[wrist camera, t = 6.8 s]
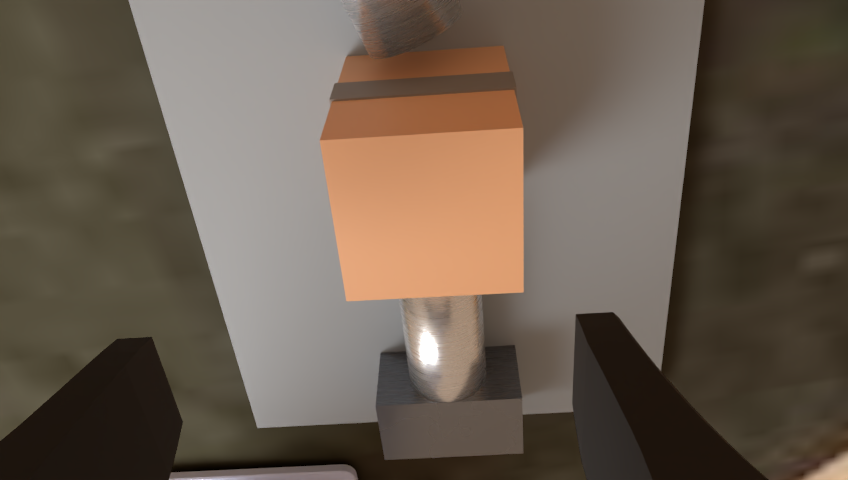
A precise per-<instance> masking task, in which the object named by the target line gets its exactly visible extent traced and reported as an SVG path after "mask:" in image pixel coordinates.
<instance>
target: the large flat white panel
mask: <svg viewBox="0 0 848 480" xmlns="http://www.w3.org/2000/svg"><path fill="white" fill-rule="evenodd" d="M458 1H459V3H460V5H461V8H462V10H463V11H462V14H461V16H460V18H459V19H458V20H457V21H456V22H455V23H454V24H453V25H452V26H450V27H449V28H448V29H447V30H445V31H444V32H443V33H441V34H440V35H438V36H436V37H435V38H433V39H432V40H430V41H428V42H426V43H424V44H422V45H421V46H418V47H416V48H414V49H412V50H410V51H407V52H418V51H433V50H447V49H462V48H476V47H491V46H504V49H505V53H506V58H507V62H508V66H509V70H510V71H513V75H514V79H515V83H516V87H517V103H518V107H519V112H520V116H521V120H522V124H523V208H524V292H522V293H502V294H482V306H483V323H484V341H485V347H489V346H506V345H515V349H516V356H517V364H518V371H519V378H520V386H521V393H522V412H523V414H542V413H561V412H573V406H572V395H573V369H574V344H575V319H576V314H586V313H605V312H613V313H615V314H616V315H617V316H618V317H619V318H620V319H621V321H622V322H623V324H624V325H625V326H626V328H627V329H628V330H629V332H630V333H631V334H632V336H633V337H634V338H635V340H636V341H637V342H638V343H639V345H640V346H641V347H642V349H643V350H644V351H645V352H646V354H647V355H648V356H649V357H650V358H651V360H652V361H653V362H654V363H655V365H656V366H657V367H658V368H659V369H660V371H661V366H662V358H663V349H664V341H665V332H666V324H667V316H668V307H669V299H670V290H671V282H672V273H673V265H674V256H675V248H676V239H677V231H678V222H679V214H680V205H681V197H682V188H683V180H684V171H685V163H686V154H687V146H688V137H689V129H690V120H691V112H692V103H693V95H694V87H695V78H696V70H697V61H698V53H699V44H700V36H701V27H702V19H703V10H704V2H705V0H458ZM129 3H130V7H131V10H132V13H133V17H134V20H135V23H136V26H137V30H138V33H139V36H140V40H141V43H142V46H143V50H144V53H145V56H146V60H147V63H148V66H149V70H150V73H151V76H152V80H153V83H154V86H155V89H156V93H157V96H158V99H159V103H160V106H161V109H162V113H163V116H164V119H165V123H166V126H167V129H168V133H169V136H170V139H171V143H172V146H173V149H174V153H175V156H176V159H177V162H178V166H179V169H180V172H181V176H182V179H183V182H184V186H185V189H186V192H187V196H188V199H189V202H190V206H191V209H192V212H193V216H194V219H195V222H196V225H197V229H198V232H199V235H200V239H201V242H202V245H203V249H204V252H205V255H206V259H207V262H208V265H209V269H210V272H211V275H212V279H213V282H214V285H215V288H216V292H217V295H218V298H219V302H220V305H221V308H222V312H223V315H224V318H225V322H226V325H227V328H228V332H229V335H230V338H231V342H232V345H233V348H234V352H235V355H236V358H237V361H238V365H239V368H240V371H241V375H242V378H243V381H244V385H245V388H246V391H247V395H248V398H249V401H250V405H251V408H252V411H253V415H254V418H255V421H256V424H257V428H268V427H287V426H307V425H327V424H346V423H366V422H378V418H377V413H376V407H375V405H376V395H377V385H378V374H379V364H380V353H383V352H401V351H406V347H405V340H404V332H403V325H402V317H401V310H400V302H399V299H384V300H364V301H346V296H345V290H344V284H343V278H342V272H341V266H340V260H339V254H338V248H337V242H336V236H335V230H334V224H333V218H332V212H331V206H330V200H329V194H328V188H327V182H326V176H325V170H324V164H323V158H322V152H321V146H320V138H321V134H322V131H323V128H324V125H325V122H326V119H327V115H328V112H329V109H330V101H329V99H330V96H331V93H332V90H333V87H334V83H338V80H339V77H340V74H341V71H342V68H343V65H344V61H345V58H346V56H360V55H369V54H368V52H367V50H366V48H365V46H364V44H363V42H362V40H361V38H360V36H359V35H358V33H357V31H356V29H355V27H354V25H353V23H352V21H351V19H350V17H349V15H348V13H347V11H346V9H345V7H344V6H343V4H342V2H341V0H129Z"/></svg>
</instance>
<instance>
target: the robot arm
mask: <svg viewBox="0 0 848 480" xmlns="http://www.w3.org/2000/svg"><path fill="white" fill-rule="evenodd" d="M572 406H573V412H574V418H575V425H576V431H577V437H578V443H579V449H580V455H581V460H582V464H583V468H584V471H585V475H586V478H587V480H768V479H767V478H766V477H765V476H764V475H763V474H761V473H760V472H759V471H758V470H757V469H756V468H755V467H753V466H752V465H751V464H750V463H749V462H748V461H747V460H746V459H745V458H743V457H742V456H741V455H740V454H739V453H738V452H737V451H736V450H735V449H734V448H733V447H732V446H731V445H730V444H729V443H728V442H727V441H726V440H725V439H724V438H723V437H722V436H721V435H720V434H719V433H718V432H717V431H716V430H715V429H714V428H713V427H712V426H711V425H710V424H708V423H707V421H706V420H705V419H704V418H703V417H702V416H701V415H700V414H699V413H698V412H697V411H696V410H695V409H694V408H693V407H692V406H691V405H690V403H689V402H688V401H687V400H686V399H685V398H684V397H683V396H682V395H681V393H680V392H679V391H678V390H677V389H676V388H675V387H674V386H673V384H672V383H671V382H670V381H669V380H668V379H667V378H666V377H665V375H664V374H663V373H662V372H661V371H660V369H659V368H658V367H657V366H656V365H655V363H654V362H653V361H652V360H651V358H650V357H649V356H648V355H647V354H646V352H645V351H644V350H643V349H642V347H641V346H640V345H639V343H638V342H637V341H636V340H635V338H634V337H633V336H632V334H631V333H630V332H629V330H628V329H627V328H626V326H625V325H624V324H623V322H622V321H621V319H620V318H619V317H618V316H617V315H616V314H615V313H613V312H605V313H586V314H576V319H575V344H574V369H573V395H572ZM182 423H183V421H182V419H181V416H180V413H179V410H178V408H177V405H176V402H175V399H174V397H173V394H172V391H171V388H170V386H169V383H168V380H167V378H166V375H165V372H164V369H163V367H162V364H161V361H160V358H159V356H158V353H157V350H156V347H155V345H154V342H153V339H152V337H145V338H127V339H117V340H116V341H114V342H113V343H112V344H111V345H109V346H108V347H107V348H106V349H105V350H103V351H102V352H101V353H100V354H99V355H98V356H97V357H95V358H94V359H93V360H92V361H91V362H90V363H89V364H88V365H86V366H85V367H84V368H83V369H82V370H81V371H80V372H79V373H78V374H76V375H75V376H74V377H73V378H72V379H71V380H70V381H69V382H68V383H66V384H65V385H64V386H63V387H62V388H61V389H60V390H59V391H58V392H56V393H55V394H54V395H53V396H52V397H51V398H50V399H49V400H47V401H46V402H45V403H44V404H43V405H42V406H41V407H40V408H38V409H37V410H36V411H35V412H34V413H33V414H32V415H31V416H29V417H28V418H27V419H26V420H25V421H24V422H23V423H21V424H20V425H19V426H18V427H17V428H16V429H14V430H13V431H12V432H11V433H10V434H8V435H7V436H6V437H5V438H4V439H2V440H1V441H0V480H358V477H357V473H356V471H355V469H354V468H353V467H351V466H349V465H345V464H337V465H316V466H295V467H274V468H253V469H233V470H212V471H191V472H171V470H172V466H173V462H174V458H175V454H176V450H177V446H178V441H179V437H180V432H181V428H182Z"/></svg>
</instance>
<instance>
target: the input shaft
mask: <svg viewBox="0 0 848 480" xmlns="http://www.w3.org/2000/svg"><path fill="white" fill-rule="evenodd" d="M399 302H400V310H401V317H402V325H403V332H404V340H405V347H406V351H401V352H383V353H380V364H379V374H378V385H377V395H376V405H375V407H376V413H377V418H378V424H379V430H380V436H381V441H382V447H383V453H384V459H385V460H397V459H417V458H438V457H459V456H480V455H501V454H522V453H523V412H522V393H521V386H520V378H519V371H518V364H517V356H516V349H515V345H506V346H489V347H485V341H484V323H483V306H482V295H463V296H443V297H423V298H404V299H399Z"/></svg>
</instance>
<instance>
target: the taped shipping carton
mask: <svg viewBox="0 0 848 480" xmlns="http://www.w3.org/2000/svg"><path fill="white" fill-rule="evenodd" d="M329 101H330V109H329V112H328V115H327V119H326V122H325V125H324V128H323V131H322V134H321V138H320V146H321V152H322V158H323V164H324V170H325V176H326V182H327V188H328V194H329V200H330V206H331V212H332V218H333V224H334V230H335V236H336V242H337V248H338V254H339V260H340V266H341V272H342V278H343V284H344V290H345V296H346V301H364V300H384V299H404V298H423V297H443V296H463V295H482V294H502V293H522V292H524V208H523V124H522V120H521V116H520V112H519V107H518V103H517V87H516V83H515V79H514V75H513V71H510V70H509V66H508V62H507V58H506V53H505V49H504V46H491V47H476V48H462V49H447V50H433V51H418V52H405V53H402V54H399V55H396V56H393V57H389V58H385V59H373V58H371V57H370V56H369V55H360V56H346V58H345V61H344V65H343V68H342V71H341V74H340V77H339V80H338V83H334V87H333V90H332V93H331V96H330V99H329Z"/></svg>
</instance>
